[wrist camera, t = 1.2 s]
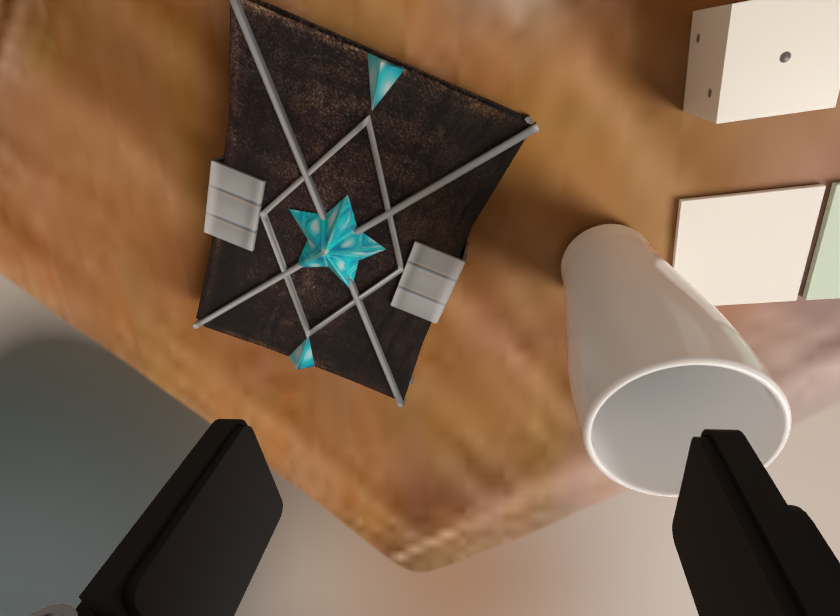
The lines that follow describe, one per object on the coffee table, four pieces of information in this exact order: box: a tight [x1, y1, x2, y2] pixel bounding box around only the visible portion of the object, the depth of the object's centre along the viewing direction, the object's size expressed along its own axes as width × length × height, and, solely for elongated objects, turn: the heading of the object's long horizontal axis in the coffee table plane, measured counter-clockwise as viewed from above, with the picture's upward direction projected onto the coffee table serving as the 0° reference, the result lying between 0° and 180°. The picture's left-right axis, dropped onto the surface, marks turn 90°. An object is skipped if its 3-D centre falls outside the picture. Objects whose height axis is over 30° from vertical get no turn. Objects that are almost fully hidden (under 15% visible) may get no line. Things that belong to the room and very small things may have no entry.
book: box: [192, 0, 539, 407], centre depth 29 cm, size 22×17×5 cm
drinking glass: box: [561, 224, 791, 497], centre depth 22 cm, size 7×7×15 cm
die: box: [683, 0, 840, 124], centre depth 20 cm, size 5×5×5 cm
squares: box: [672, 182, 840, 306], centre depth 26 cm, size 7×14×1 cm, turn 100°
